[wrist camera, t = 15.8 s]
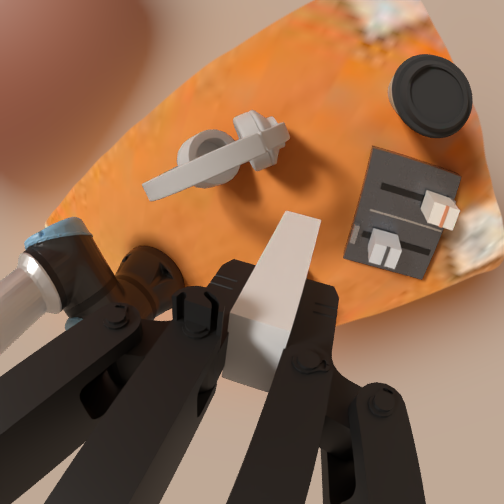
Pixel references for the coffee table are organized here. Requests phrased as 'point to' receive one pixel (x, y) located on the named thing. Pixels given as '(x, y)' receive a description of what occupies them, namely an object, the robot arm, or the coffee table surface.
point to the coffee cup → (431, 95)
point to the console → (399, 209)
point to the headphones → (221, 155)
